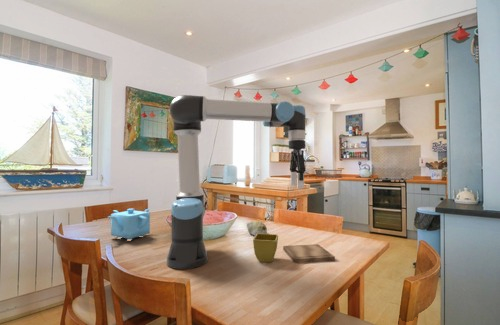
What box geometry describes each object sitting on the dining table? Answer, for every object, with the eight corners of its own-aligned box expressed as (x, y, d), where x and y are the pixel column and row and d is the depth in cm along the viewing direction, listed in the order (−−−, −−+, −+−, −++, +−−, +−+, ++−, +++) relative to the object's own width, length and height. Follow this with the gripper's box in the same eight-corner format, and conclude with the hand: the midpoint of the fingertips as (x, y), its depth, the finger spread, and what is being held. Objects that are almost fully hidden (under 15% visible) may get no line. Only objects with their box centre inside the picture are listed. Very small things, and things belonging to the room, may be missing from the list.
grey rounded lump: (270, 235, 135) (261, 218, 135) (253, 244, 135) (244, 227, 135) (268, 229, 145) (260, 213, 145) (252, 238, 145) (244, 221, 145)
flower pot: (276, 265, 98) (276, 240, 98) (252, 263, 100) (252, 239, 100) (278, 256, 107) (278, 234, 107) (256, 255, 108) (256, 233, 108)
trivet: (294, 263, 100) (294, 258, 100) (283, 249, 116) (283, 245, 116) (335, 260, 102) (334, 256, 102) (318, 247, 118) (318, 243, 118)
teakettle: (148, 241, 129) (148, 210, 129) (105, 244, 123) (105, 213, 123) (150, 231, 147) (150, 205, 147) (113, 234, 141) (113, 206, 141)
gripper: (313, 137, 109) (313, 189, 109) (298, 142, 134) (298, 184, 134) (294, 137, 109) (294, 189, 108) (283, 142, 133) (283, 184, 133)
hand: (296, 186), depth 121 cm, fingers open, 13 cm apart
